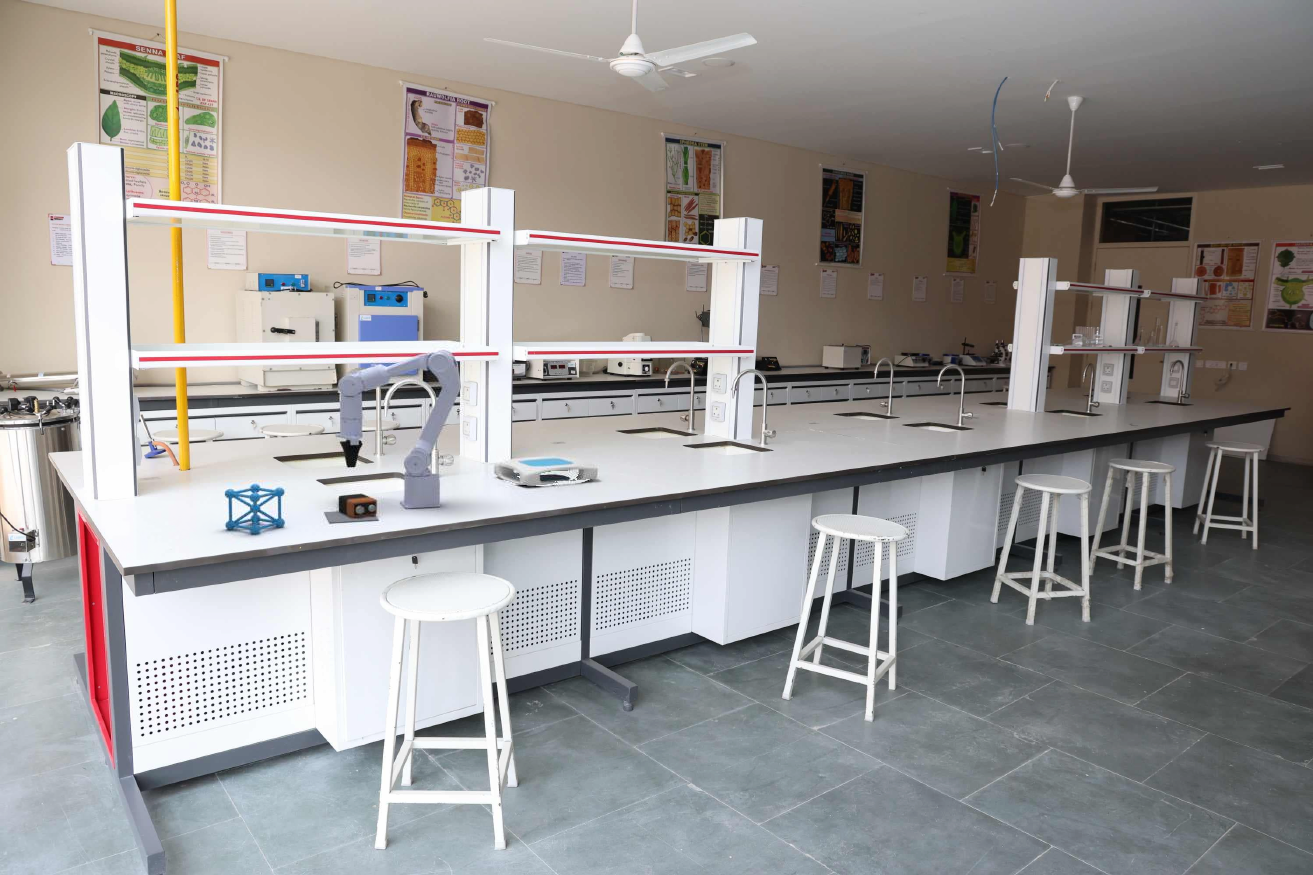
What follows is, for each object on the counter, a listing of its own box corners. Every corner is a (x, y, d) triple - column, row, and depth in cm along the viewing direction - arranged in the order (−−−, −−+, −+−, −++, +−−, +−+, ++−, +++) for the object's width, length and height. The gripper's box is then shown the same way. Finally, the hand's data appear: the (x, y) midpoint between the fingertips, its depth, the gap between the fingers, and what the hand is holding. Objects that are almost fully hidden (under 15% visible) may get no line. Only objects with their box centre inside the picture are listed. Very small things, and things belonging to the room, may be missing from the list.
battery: (337, 495, 232) (353, 502, 225) (362, 493, 237) (378, 499, 230) (337, 511, 233) (353, 519, 226) (362, 508, 238) (378, 516, 230)
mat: (371, 510, 237) (371, 509, 237) (378, 520, 227) (378, 519, 227) (324, 512, 232) (324, 511, 232) (329, 523, 221) (329, 522, 221)
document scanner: (598, 482, 294) (598, 464, 293) (525, 489, 276) (525, 470, 276) (564, 472, 310) (564, 454, 309) (493, 478, 293) (493, 459, 292)
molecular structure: (223, 530, 210) (222, 489, 209) (255, 521, 220) (255, 482, 218) (255, 535, 207) (254, 494, 206) (287, 527, 216) (286, 487, 215)
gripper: (332, 415, 245) (332, 462, 247) (339, 421, 232) (339, 472, 234) (359, 415, 248) (358, 462, 250) (366, 421, 236) (366, 471, 237)
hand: (351, 467), depth 243 cm, fingers closed
